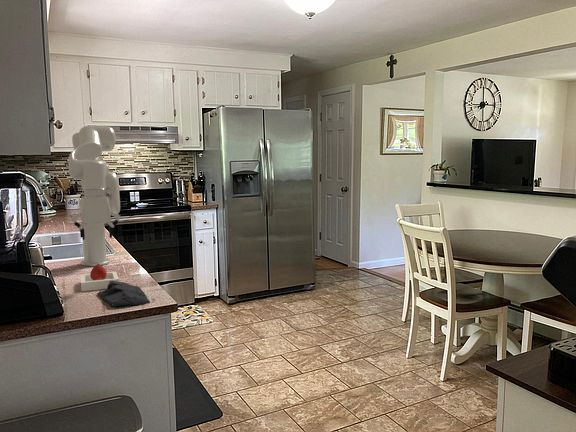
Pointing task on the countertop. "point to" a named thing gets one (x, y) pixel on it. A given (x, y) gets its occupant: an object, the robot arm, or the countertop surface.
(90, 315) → the countertop surface
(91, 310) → the countertop surface
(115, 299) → the dark grey folded cloth
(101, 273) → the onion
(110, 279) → the dish
